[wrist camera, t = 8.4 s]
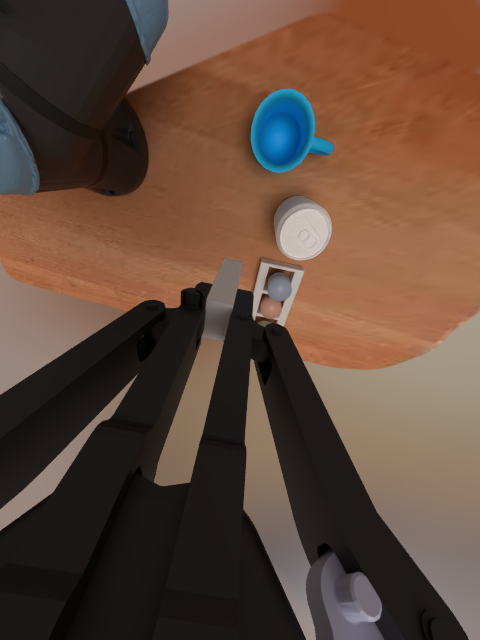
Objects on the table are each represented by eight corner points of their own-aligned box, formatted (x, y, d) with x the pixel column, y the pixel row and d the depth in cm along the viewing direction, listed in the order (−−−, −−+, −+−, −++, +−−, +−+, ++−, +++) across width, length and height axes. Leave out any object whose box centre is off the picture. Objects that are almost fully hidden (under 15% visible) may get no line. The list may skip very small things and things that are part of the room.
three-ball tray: (244, 327, 56) (243, 333, 54) (261, 257, 45) (261, 262, 43) (277, 333, 56) (278, 340, 54) (302, 266, 45) (304, 271, 43)
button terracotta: (258, 307, 51) (258, 316, 48) (263, 291, 49) (263, 299, 46) (277, 311, 52) (278, 320, 48) (283, 295, 49) (284, 303, 46)
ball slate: (265, 290, 46) (265, 298, 43) (270, 270, 43) (271, 278, 40) (286, 294, 46) (287, 303, 43) (292, 274, 43) (295, 282, 40)
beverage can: (297, 184, 37) (309, 189, 27) (326, 218, 40) (346, 234, 30) (264, 221, 41) (264, 237, 31) (292, 250, 44) (300, 273, 34)
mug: (248, 166, 36) (244, 165, 30) (259, 99, 31) (258, 80, 25) (316, 182, 37) (327, 184, 30) (337, 118, 32) (357, 104, 25)
